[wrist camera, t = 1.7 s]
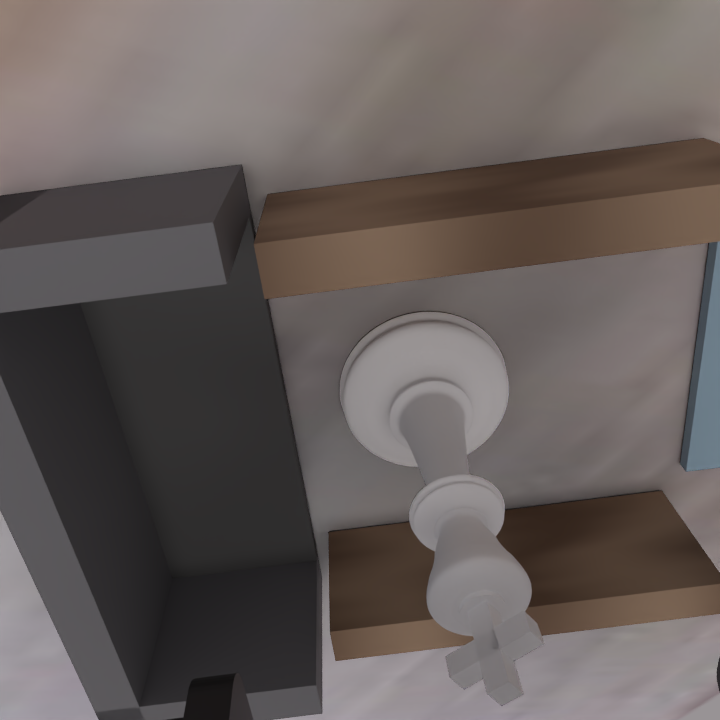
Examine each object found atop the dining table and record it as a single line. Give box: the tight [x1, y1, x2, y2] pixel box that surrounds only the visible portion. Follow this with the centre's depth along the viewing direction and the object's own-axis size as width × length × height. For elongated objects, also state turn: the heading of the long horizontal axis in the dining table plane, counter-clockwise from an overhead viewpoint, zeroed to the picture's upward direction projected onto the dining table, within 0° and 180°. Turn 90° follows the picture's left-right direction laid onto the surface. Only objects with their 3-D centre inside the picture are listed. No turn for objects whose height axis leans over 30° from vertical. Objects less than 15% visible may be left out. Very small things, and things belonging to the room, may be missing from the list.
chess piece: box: [340, 312, 544, 706], centre depth 15 cm, size 5×5×10 cm
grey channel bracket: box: [0, 165, 322, 720], centre depth 18 cm, size 6×14×5 cm, turn 7°
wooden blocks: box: [254, 138, 720, 661], centre depth 18 cm, size 11×12×4 cm
